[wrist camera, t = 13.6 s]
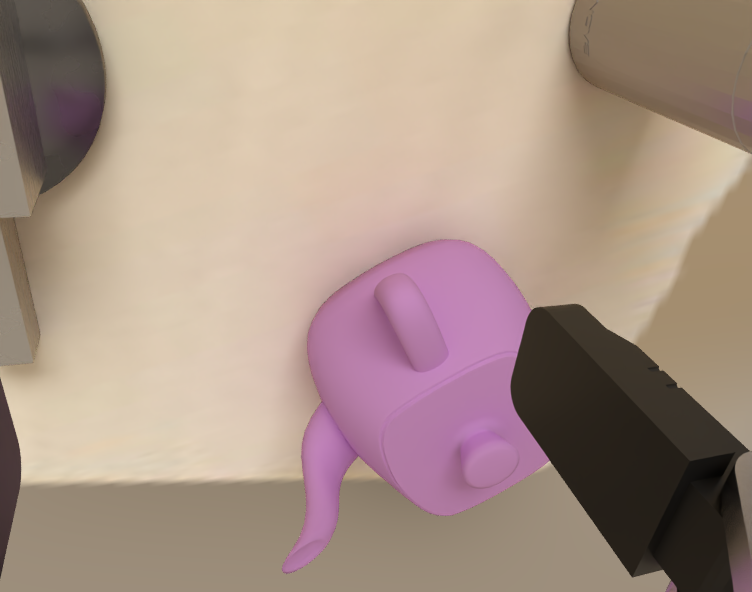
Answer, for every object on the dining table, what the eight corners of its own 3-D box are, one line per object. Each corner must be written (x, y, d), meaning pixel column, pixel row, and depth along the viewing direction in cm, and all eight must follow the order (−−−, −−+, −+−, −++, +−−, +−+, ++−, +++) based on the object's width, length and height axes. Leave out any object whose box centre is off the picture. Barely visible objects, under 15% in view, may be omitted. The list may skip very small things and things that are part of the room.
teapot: (450, 146, 42) (570, 249, 30) (527, 348, 55) (635, 477, 43) (157, 312, 42) (160, 480, 30) (302, 475, 55) (345, 640, 43)
